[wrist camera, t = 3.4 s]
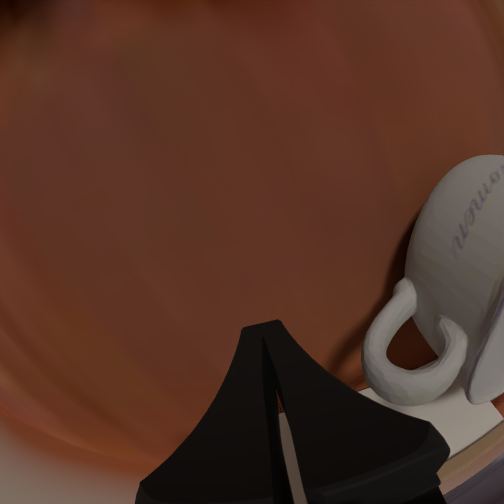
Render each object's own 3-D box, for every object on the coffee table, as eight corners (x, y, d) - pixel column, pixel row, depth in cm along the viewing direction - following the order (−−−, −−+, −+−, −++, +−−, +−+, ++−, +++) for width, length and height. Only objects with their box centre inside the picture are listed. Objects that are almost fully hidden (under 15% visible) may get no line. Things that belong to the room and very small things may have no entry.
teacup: (504, 153, 12) (600, 178, 4) (486, 301, 15) (553, 359, 8) (309, 149, 11) (438, 160, 4) (319, 354, 15) (367, 475, 8)
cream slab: (451, 349, 16) (515, 424, 8) (447, 365, 17) (503, 439, 9) (238, 418, 17) (247, 537, 8) (244, 431, 17) (254, 541, 9)
